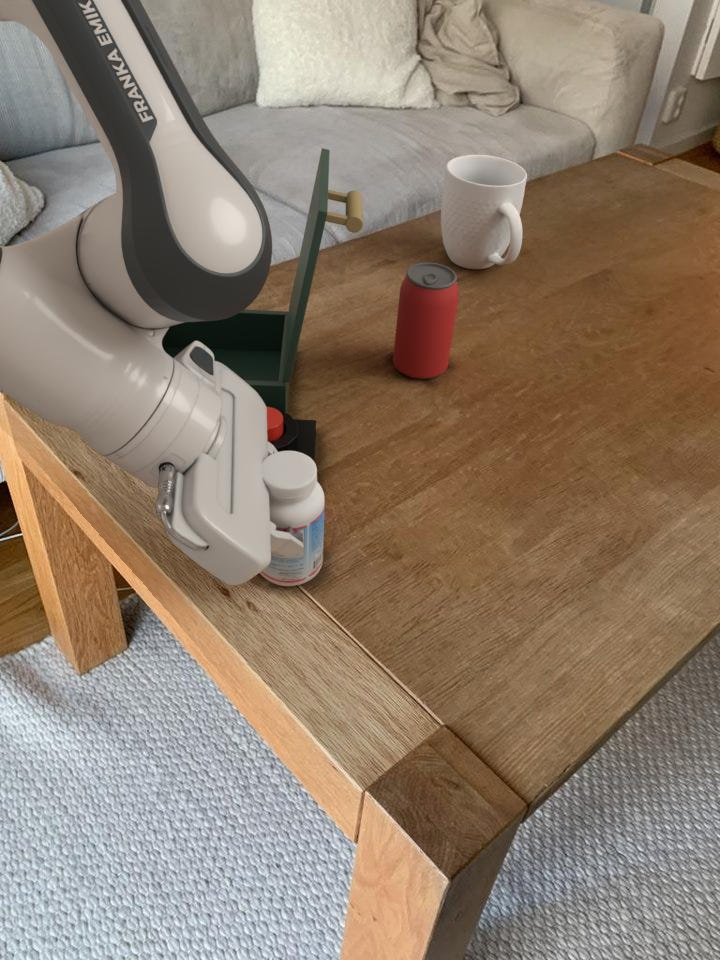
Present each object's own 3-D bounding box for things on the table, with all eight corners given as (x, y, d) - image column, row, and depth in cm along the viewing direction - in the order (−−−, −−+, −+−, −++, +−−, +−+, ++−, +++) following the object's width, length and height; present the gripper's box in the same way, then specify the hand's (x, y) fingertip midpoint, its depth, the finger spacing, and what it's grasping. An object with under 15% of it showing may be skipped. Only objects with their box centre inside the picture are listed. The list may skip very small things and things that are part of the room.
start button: (244, 442, 79) (244, 428, 78) (248, 419, 82) (247, 405, 81) (282, 443, 79) (282, 429, 78) (284, 420, 82) (284, 407, 81)
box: (117, 424, 86) (109, 378, 82) (142, 347, 96) (136, 304, 93) (285, 430, 87) (285, 386, 83) (292, 354, 97) (292, 311, 94)
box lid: (318, 210, 70) (370, 222, 71) (321, 147, 81) (366, 158, 82) (281, 381, 82) (326, 390, 83) (288, 307, 93) (328, 315, 94)
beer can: (386, 375, 95) (396, 282, 87) (398, 346, 100) (408, 255, 92) (442, 386, 94) (456, 293, 86) (451, 356, 99) (465, 265, 91)
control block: (211, 484, 80) (208, 452, 77) (220, 432, 86) (218, 401, 83) (313, 487, 80) (314, 456, 78) (315, 436, 86) (316, 405, 84)
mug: (541, 282, 114) (562, 191, 106) (475, 296, 110) (491, 203, 102) (482, 237, 124) (497, 150, 115) (419, 248, 120) (430, 159, 111)
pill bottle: (294, 528, 76) (296, 434, 68) (336, 568, 73) (342, 473, 65) (240, 557, 73) (235, 462, 65) (280, 600, 70) (280, 505, 62)
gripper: (186, 499, 52) (332, 592, 60) (199, 328, 67) (315, 420, 75) (124, 549, 55) (272, 632, 62) (150, 373, 70) (267, 458, 78)
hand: (295, 515), depth 69 cm, fingers closed on pill bottle, 6 cm apart
